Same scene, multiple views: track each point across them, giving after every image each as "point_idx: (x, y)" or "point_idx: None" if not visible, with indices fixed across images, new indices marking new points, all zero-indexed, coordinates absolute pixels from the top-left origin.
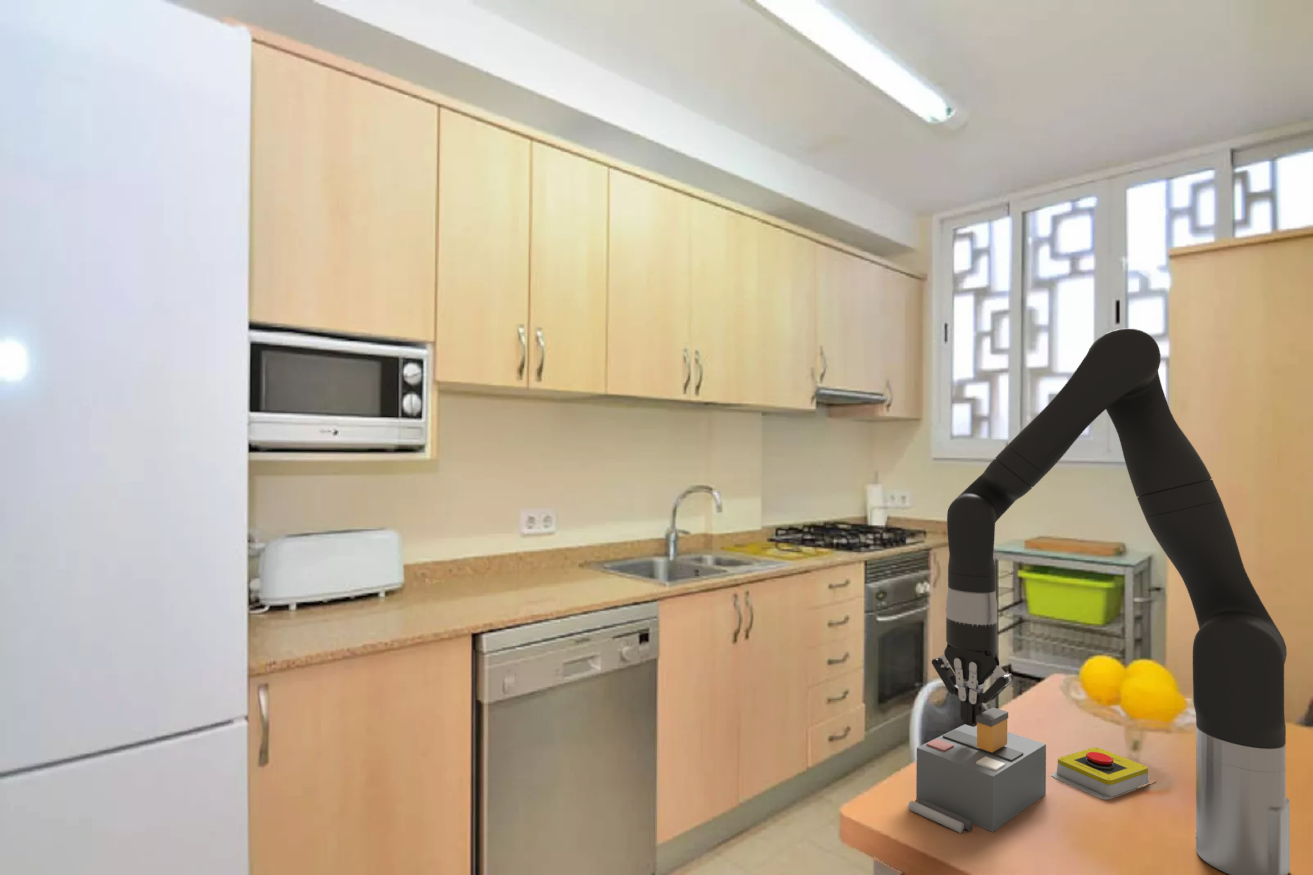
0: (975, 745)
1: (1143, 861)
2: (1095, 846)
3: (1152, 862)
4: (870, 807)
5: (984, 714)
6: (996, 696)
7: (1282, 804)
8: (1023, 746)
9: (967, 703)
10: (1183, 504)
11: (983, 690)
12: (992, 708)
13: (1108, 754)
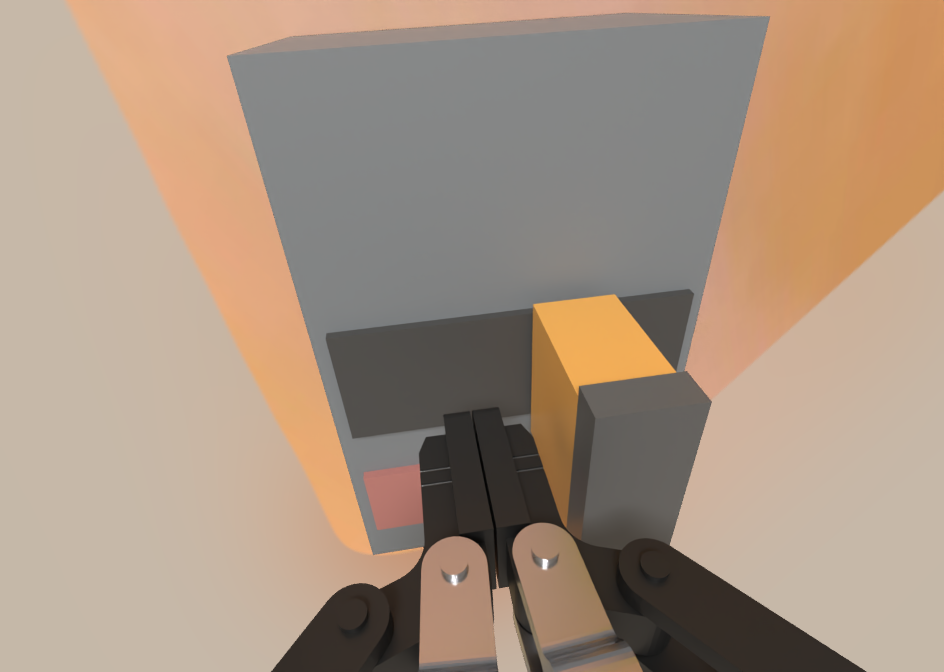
0: (505, 402)
1: (914, 204)
2: (805, 239)
3: (936, 188)
4: (351, 518)
5: (604, 539)
6: (712, 582)
7: None
8: (665, 192)
9: (495, 586)
10: None
11: (607, 625)
12: (601, 436)
13: None
